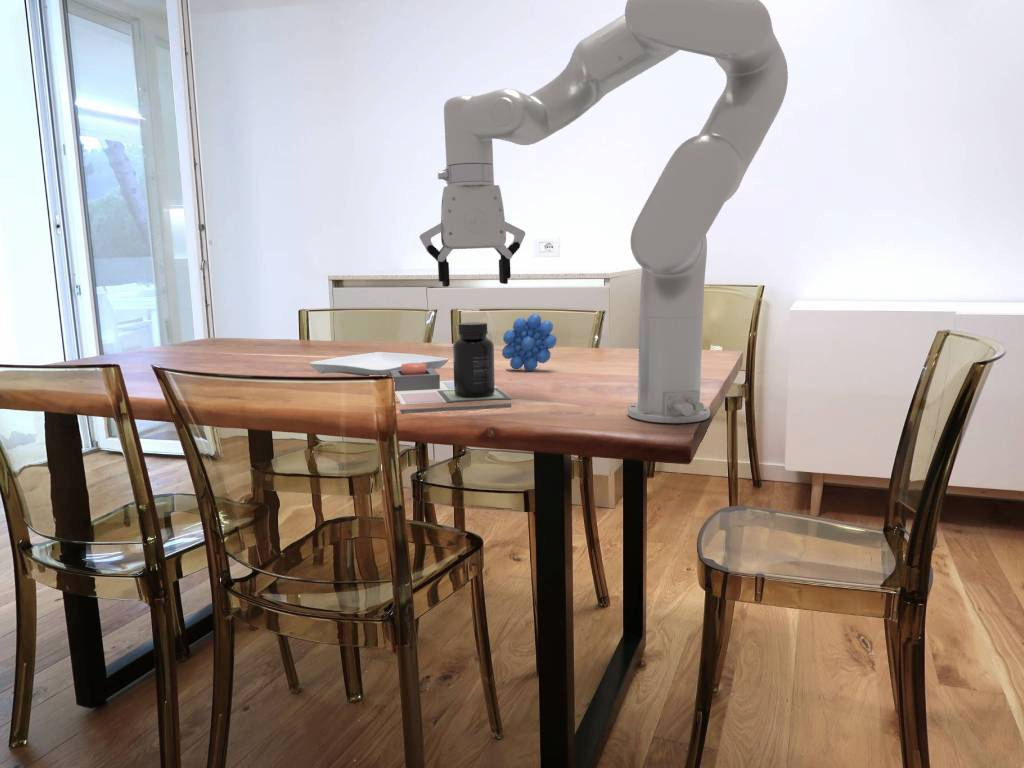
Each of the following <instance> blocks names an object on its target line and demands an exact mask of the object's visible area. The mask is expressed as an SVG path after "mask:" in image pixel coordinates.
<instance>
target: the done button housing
mask: <svg viewBox="0 0 1024 768" xmlns="http://www.w3.org/2000/svg"><path fill="white" fill-rule="evenodd" d="M390 376H393V378H394V382H395V391H409V390H429V389H440V381H441V379H440V377H441V375H440V373H438V371H437V370H435V368H426V374H420V375H402V371H401V370H389V377H390Z"/></svg>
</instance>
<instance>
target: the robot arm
mask: <svg viewBox="0 0 1024 768" xmlns="http://www.w3.org/2000/svg"><path fill="white" fill-rule="evenodd" d="M772 24H773V23H772V18H771V15H770V12H769V10H768V8H767V7H766V6H765V4H764V3H763V2H761V1H760V0H627V1H626V3H625V7H624V13H623V14H622V15H620V16H618V17H617V18H615V19H614V20H612V21H611V22H609V23H608V24H606V25H604V26H602V27H601V28H600V29H598V30H596V31H594V32H593V33H591V34H590V35H588V36H586V37H584V38H583V39H582V40H581V39H580V41H579V42H578V43H577V44H576V45H575V47H574V49H573V51H572V53H571V57H570V59H569V60H568V61H569V62H568V63H567V64H566V66H565V68H564V69H563V70H562V71H561V72H560V73H559V74H558V75H557V76H556V77H555V78H554V79H552V80H550V82H548V83H547V84H545V85H543V86H542V87H540V88H538V89H537V90H535V91H533V92H532V93H530V94H529V95H527V94H525V93H523V92H521V91H519V90H517V89H514V88H502V89H501V88H500V89H498V90H493V91H490V92H487V93H483V94H480V95H459V96H454V97H451V98H449V99H447V100H446V102H445V103H444V107H443V120H444V124H443V125H444V140H445V141H444V142H445V161H446V163H445V164H446V167H445V169H442V170H438V171H437V179H438V180H443V181H444V182H446V185H447V186H443V190H442V197H441V208H440V209H441V211H440V223H438V224H436V225H435V226H433V227H431V228H430V229H428V230H426V231H423V233H421V234H419V240H420V242H421V243H422V245H423V246H424V248H425V251H426V252H427V253H428V254H429V255H430V256H431V257H433V258H434V259H435V261H436V262H437V269H438V271H437V272H438V273H437V274H438V282H441V284H442V287H445V288H446V287H447V288H449V286H450V266H449V265H450V264H449V261H448V260H447V257H448V256H449V255H450V254H451V252H452V251H453V250H465V249H466V250H469V249H470V250H471V249H474V250H475V249H492V248H493V249H494V250H495V251H496V252H497V253H498V255H499V256H500V259H498V274H499V275H498V276H499V277H498V278H499V283H500V284H502V285H505V284H506V285H508V284H509V283H508V282H509V280H508V279H511V275H512V274H511V273H512V272H511V259H512V258H513V256H514V254H516V253H517V252H518V250H519V249H520V248H521V244H522V242H523V240H524V238H525V236H526V231H524V230H522V229H521V228H520V227H517V226H515V225H512V223H509V222H507V221H506V218H505V210H504V204H503V197H502V192H501V187H500V184H499V185H497V184H495V175H494V174H495V173H494V152H493V151H494V150H493V149H494V147H493V139H495V140H501V141H505V142H509V143H514V144H515V145H519V146H530V145H534V144H536V143H539V142H540V141H543V140H545V139H547V138H549V137H550V136H551V135H553V134H555V133H557V132H558V131H560V130H562V129H565V127H567V126H569V125H571V124H572V123H573V122H575V121H576V120H577V119H579V118H580V117H581V116H583V115H584V114H585V113H587V112H588V111H589V110H590V109H591V108H592V107H593V106H595V105H596V104H597V103H599V102H600V101H601V100H602V99H603V98H604V97H605V96H606V95H607V94H609V93H611V92H613V91H614V90H616V89H617V88H619V87H621V86H622V85H624V84H626V83H628V82H629V81H630V80H632V79H634V78H635V77H638V76H640V75H641V74H643V73H644V72H647V70H649V69H651V68H653V67H655V66H656V65H658V64H659V63H662V62H663V61H664V60H666V59H669V57H671V56H673V55H674V54H676V53H678V52H679V51H684V52H688V53H693V54H697V55H702V56H706V57H710V58H713V59H714V60H715V61H716V63H717V64H718V66H719V67H720V68H721V69H722V70H723V72H724V74H725V76H726V83H725V87H724V90H723V92H722V93H721V95H720V96H719V98H718V99H717V101H716V102H715V104H714V106H713V107H712V110H711V112H710V114H709V115H708V118H707V119H706V122H705V123H704V124H703V127H702V129H701V131H699V134H697V135H694V136H692V137H690V138H689V139H687V140H685V141H684V142H682V143H681V144H680V145H679V146H678V147H677V148H676V149H675V150H674V152H673V153H672V155H671V156H670V158H669V160H668V161H667V163H666V165H665V167H664V168H663V170H662V172H661V174H660V175H659V177H658V179H657V182H656V183H655V185H654V187H653V188H652V190H651V192H650V194H649V196H648V198H647V200H646V202H645V203H644V205H643V207H642V209H641V211H640V212H639V214H638V216H637V218H636V221H635V222H634V225H633V227H632V231H631V235H630V250H631V252H632V253H631V254H632V255H633V257H634V260H635V261H636V262H637V264H638V265H639V266H640V267H641V278H640V291H639V292H640V294H639V317H638V320H639V321H638V322H639V323H638V364H637V365H638V367H637V369H638V373H637V374H638V375H637V402H635V403H632V404H630V405H628V406H627V415H628V416H630V417H631V418H633V419H636V420H639V421H644V422H649V423H659V424H660V423H661V424H662V423H663V424H691V423H697V422H702V421H706V420H707V419H709V418H710V416H711V409H710V408H709V407H707V405H704V403H702V402H701V387H702V386H701V383H702V382H701V381H702V379H701V378H702V354H703V353H702V352H703V351H702V350H703V320H704V318H703V317H704V299H705V298H704V297H705V295H704V293H705V279H706V267H707V256H708V242H707V241H708V240H707V234H708V232H709V230H710V229H711V227H712V225H713V224H714V222H715V220H716V218H717V217H718V215H719V213H720V212H721V210H722V208H723V206H724V204H725V203H726V202H727V201H728V200H730V199H731V198H732V197H733V196H734V195H735V194H736V192H737V191H738V190H739V188H740V185H741V183H742V180H743V178H744V176H745V175H746V173H747V171H748V168H749V167H750V165H751V163H752V162H753V160H754V158H755V157H756V154H757V153H758V151H759V149H760V147H761V145H762V144H763V141H764V140H765V138H766V136H767V134H768V132H769V130H770V128H771V126H772V125H773V123H774V121H775V120H776V118H777V116H778V114H779V112H780V110H781V108H782V104H783V103H784V101H785V97H786V93H787V91H788V90H787V89H788V81H789V72H788V71H789V69H788V63H787V59H786V56H785V53H784V51H783V49H782V47H781V45H780V43H779V41H778V39H777V37H776V35H775V33H774V29H773V25H772ZM507 233H508V234H511V235H512V236H513V240H512V242H511V243H510V244H509V246H506V242H507ZM439 234H440V238H441V245H442V247H441V248H440V249H438V248H436V247H435V246H434V244H433V242H432V240H431V239H432V238H433V237H435V236H437V235H439Z"/></svg>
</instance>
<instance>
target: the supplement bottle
mask: <svg viewBox="0 0 1024 768" xmlns="http://www.w3.org/2000/svg"><path fill="white" fill-rule="evenodd" d="M457 325H458V331H457V334H458V335H459V339H456V340H455V342H454V343H453V346H452V355H453V356H452V360H453V361H452V362H453V364H452V365H453V381H454V392H455V394H456V395H457V396H460V397H485V396H490V395H492V394H493V393H494V391H495V386H496V384H495V345H494V342H493V341H492V340H491V339H489V338H488V337H487V335H488V333H489V332H488V331H489V330H488V323H487V322H478V321H477V322H476V321H475V322H474V321H473V322H461V323H458V324H457ZM458 335H457V336H458Z"/></svg>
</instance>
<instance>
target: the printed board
mask: <svg viewBox="0 0 1024 768" xmlns="http://www.w3.org/2000/svg"><path fill="white" fill-rule="evenodd" d="M395 393H396V394H395ZM394 394H395V395H396V397H397V399H398V401H399V402H400V404H401V405H417V404H418V405H419V404H421V405H422V404H437V403H438V404H439V403H440V404H441V403H447V404H450V403H461V402H478V401H495V400H496V401H498V400H499V401H500V400H501V401H502V400H507V401H508V400H512V398H511V396H509V395H508V394H507V393H505V392H503V390H501V389H500V388H498V387H497V385H495V391H494V393H493V394H492V395H490V396H485V397H460V396H457V395H456V394H455V392H454V380H440V389H429V390H409V391H395V392H394ZM505 408H509V409H510V408H512V403H498V404H496V403H495V404H482V405H481V404H480V405H464V406H463V405H460V406H445V407H444V406H443V407H442V406H441V407H430V408H429V407H428V408H427V407H426V408H423V407H422V408H409V409H408V408H407V409H404V408H403V409H399V411H400V412H401V414H414V413H415V414H416V413H419V414H420V413H435V412H451V411H453V412H454V411H456V412H457V411H469V410H470V411H471V410H474V411H475V410H489V409H490V410H492V409H505Z"/></svg>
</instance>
